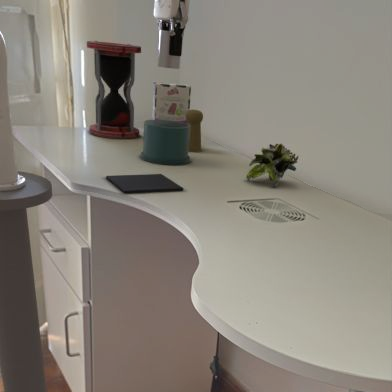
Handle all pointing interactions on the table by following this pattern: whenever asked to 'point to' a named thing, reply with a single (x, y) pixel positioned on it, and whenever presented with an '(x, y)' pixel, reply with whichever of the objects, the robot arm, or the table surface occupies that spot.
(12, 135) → the robot arm
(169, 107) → the candy bar box
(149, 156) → the teal short wide cylinder
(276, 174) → the leafy green plant
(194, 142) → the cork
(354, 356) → the table surface
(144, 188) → the mat
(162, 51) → the steel cup
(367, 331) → the table surface
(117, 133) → the hourglass
